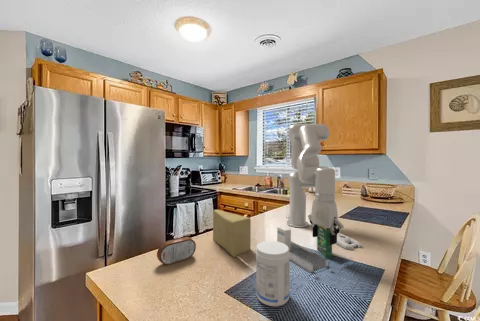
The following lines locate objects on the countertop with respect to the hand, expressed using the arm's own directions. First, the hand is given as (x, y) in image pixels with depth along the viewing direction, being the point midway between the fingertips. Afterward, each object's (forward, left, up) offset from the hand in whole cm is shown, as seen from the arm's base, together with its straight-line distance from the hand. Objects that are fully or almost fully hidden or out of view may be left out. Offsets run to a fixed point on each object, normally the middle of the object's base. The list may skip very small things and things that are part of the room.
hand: (324, 239), depth 90 cm
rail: (-3, -12, -7) cm, 14 cm away
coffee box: (0, 0, -7) cm, 7 cm away
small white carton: (-11, -12, -6) cm, 17 cm away
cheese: (-27, -31, -7) cm, 42 cm away
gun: (-6, +20, -7) cm, 22 cm away
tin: (-24, -54, -7) cm, 59 cm away
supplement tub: (+11, -35, -7) cm, 37 cm away
